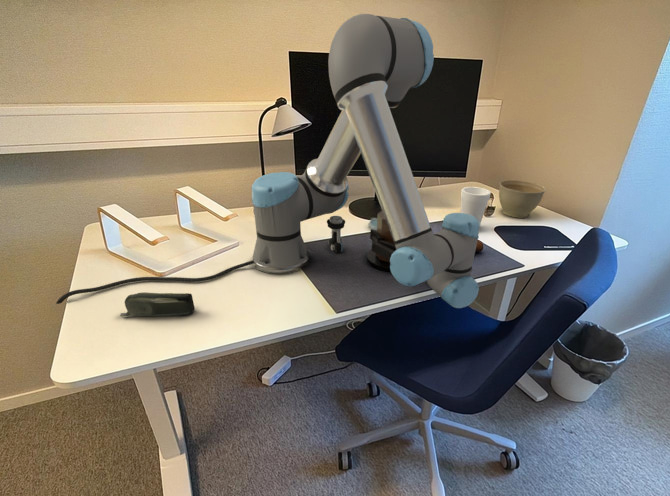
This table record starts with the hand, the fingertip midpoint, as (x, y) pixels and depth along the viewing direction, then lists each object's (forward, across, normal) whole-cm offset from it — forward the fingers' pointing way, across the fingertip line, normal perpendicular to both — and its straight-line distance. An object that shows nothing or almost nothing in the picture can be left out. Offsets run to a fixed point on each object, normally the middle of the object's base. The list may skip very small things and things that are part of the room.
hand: (388, 231), depth 113 cm
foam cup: (+10, +37, -8) cm, 39 cm away
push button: (+9, -13, -8) cm, 18 cm away
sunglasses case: (-6, +19, -8) cm, 21 cm away
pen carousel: (-4, 0, -6) cm, 7 cm away
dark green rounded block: (-10, -61, -8) cm, 62 cm away
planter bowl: (+16, +63, -8) cm, 65 cm away
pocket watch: (+19, +8, -8) cm, 22 cm away
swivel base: (-4, 0, -8) cm, 8 cm away
